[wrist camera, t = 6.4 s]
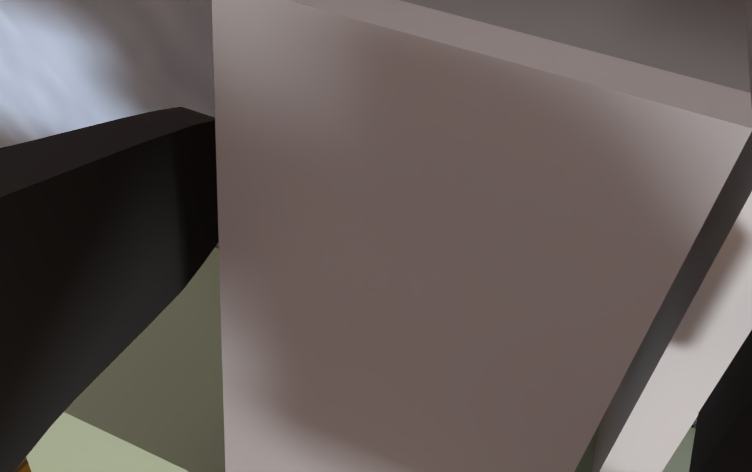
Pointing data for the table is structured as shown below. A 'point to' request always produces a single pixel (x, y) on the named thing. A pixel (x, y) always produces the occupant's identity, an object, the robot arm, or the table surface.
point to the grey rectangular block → (456, 218)
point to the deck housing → (602, 456)
